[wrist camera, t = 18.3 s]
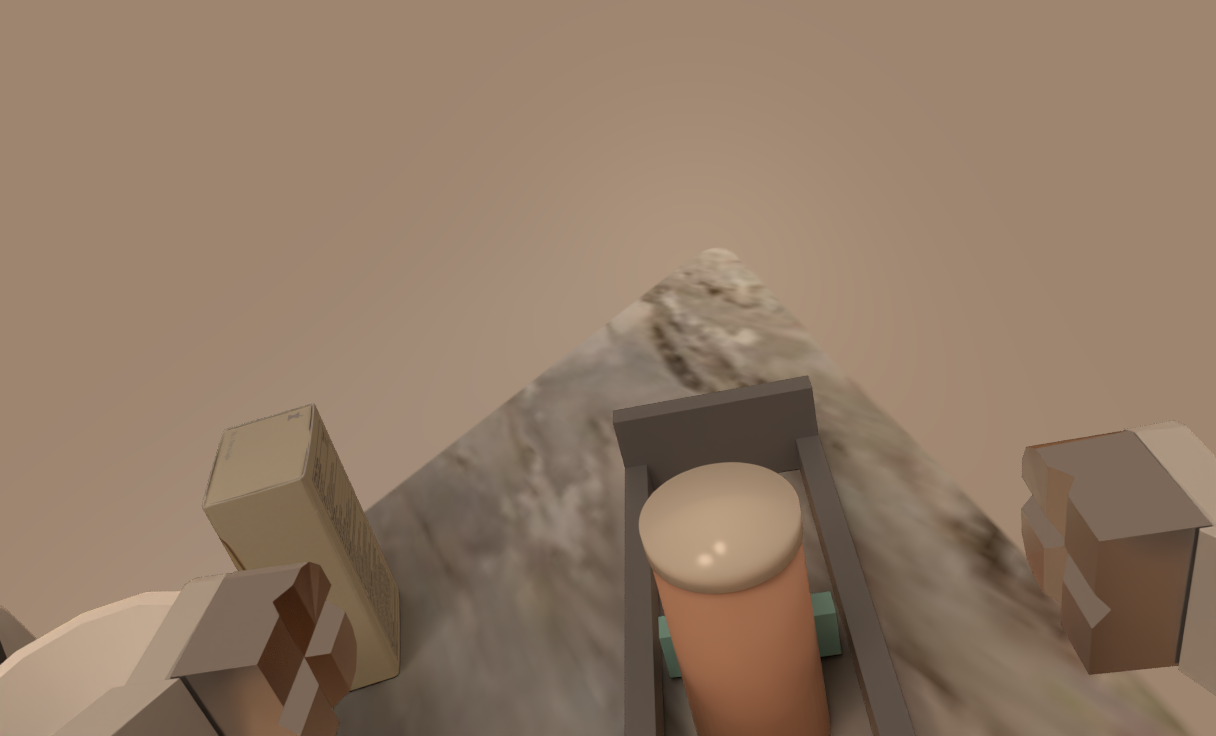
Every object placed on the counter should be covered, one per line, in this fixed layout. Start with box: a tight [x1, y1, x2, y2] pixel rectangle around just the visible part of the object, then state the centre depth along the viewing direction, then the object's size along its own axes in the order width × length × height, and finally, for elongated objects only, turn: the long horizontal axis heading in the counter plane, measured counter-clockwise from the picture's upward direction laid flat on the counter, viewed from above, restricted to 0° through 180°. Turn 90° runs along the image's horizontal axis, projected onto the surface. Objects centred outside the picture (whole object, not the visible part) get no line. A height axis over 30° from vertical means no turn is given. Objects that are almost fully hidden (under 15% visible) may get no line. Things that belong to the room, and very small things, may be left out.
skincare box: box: [202, 403, 400, 691], centre depth 41 cm, size 6×4×12 cm
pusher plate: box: [658, 591, 842, 678], centre depth 40 cm, size 7×7×2 cm
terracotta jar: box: [639, 462, 830, 736], centre depth 33 cm, size 5×5×11 cm
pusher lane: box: [613, 376, 916, 736], centre depth 38 cm, size 23×10×5 cm, turn 179°
